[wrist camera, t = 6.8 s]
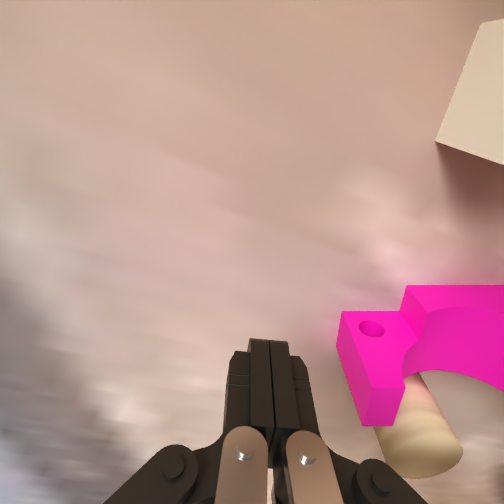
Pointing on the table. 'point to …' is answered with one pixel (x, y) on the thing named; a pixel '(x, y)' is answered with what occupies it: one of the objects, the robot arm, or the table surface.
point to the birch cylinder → (419, 435)
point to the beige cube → (479, 98)
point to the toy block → (421, 344)
